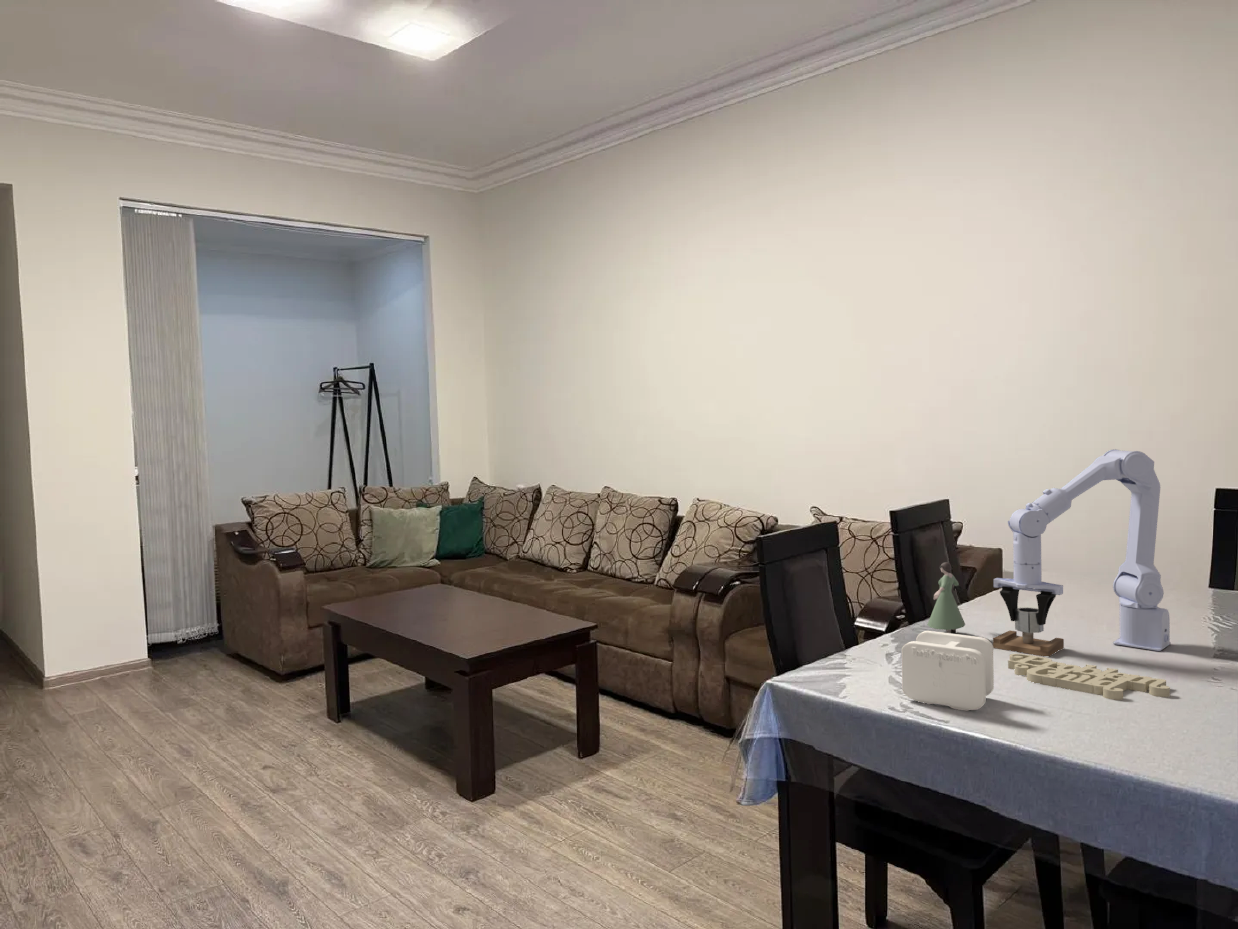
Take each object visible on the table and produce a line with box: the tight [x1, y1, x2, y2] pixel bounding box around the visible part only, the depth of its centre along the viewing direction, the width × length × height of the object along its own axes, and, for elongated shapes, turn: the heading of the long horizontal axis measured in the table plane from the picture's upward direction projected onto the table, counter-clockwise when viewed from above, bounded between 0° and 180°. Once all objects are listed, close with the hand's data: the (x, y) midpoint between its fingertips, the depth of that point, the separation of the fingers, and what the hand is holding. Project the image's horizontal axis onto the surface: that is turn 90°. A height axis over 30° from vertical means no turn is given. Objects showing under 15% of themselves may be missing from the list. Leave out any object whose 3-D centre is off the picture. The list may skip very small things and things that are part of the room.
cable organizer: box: [900, 630, 995, 712], centre depth 164 cm, size 15×11×12 cm
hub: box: [1014, 607, 1045, 634], centre depth 197 cm, size 6×6×4 cm
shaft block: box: [992, 630, 1065, 657], centre depth 197 cm, size 12×9×6 cm
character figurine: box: [927, 561, 966, 634], centre depth 210 cm, size 16×8×18 cm, turn 136°
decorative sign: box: [1007, 653, 1171, 701], centre depth 172 cm, size 31×2×15 cm
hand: (1027, 622), depth 196 cm, fingers closed on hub, 5 cm apart
